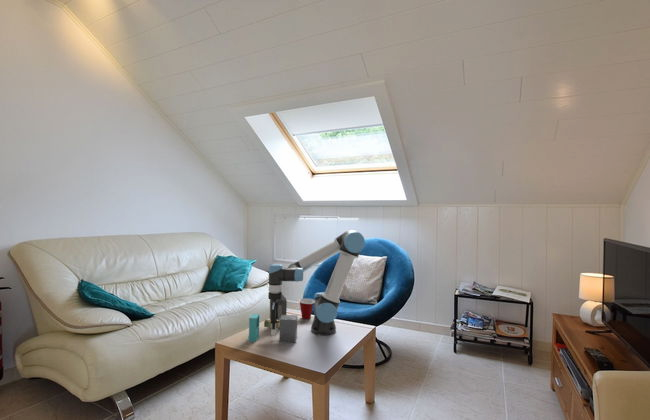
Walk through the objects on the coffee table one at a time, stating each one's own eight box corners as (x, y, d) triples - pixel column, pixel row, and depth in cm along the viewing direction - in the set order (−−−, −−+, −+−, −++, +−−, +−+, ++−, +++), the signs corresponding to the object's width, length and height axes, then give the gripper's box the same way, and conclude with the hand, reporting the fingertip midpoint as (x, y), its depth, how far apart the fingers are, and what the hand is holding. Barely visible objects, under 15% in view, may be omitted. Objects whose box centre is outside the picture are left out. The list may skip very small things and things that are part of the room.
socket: (259, 336, 198) (259, 313, 198) (256, 341, 190) (256, 318, 190) (252, 336, 198) (252, 313, 198) (248, 341, 190) (249, 318, 190)
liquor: (276, 322, 223) (276, 276, 223) (287, 324, 219) (288, 277, 219) (267, 326, 215) (268, 278, 215) (279, 329, 211) (280, 280, 211)
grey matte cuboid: (297, 337, 198) (297, 315, 198) (295, 342, 190) (296, 319, 190) (281, 336, 198) (281, 314, 198) (279, 342, 190) (279, 319, 190)
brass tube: (296, 326, 196) (296, 318, 196) (295, 329, 191) (295, 321, 191) (265, 325, 196) (265, 317, 196) (264, 328, 192) (264, 320, 192)
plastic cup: (308, 321, 226) (308, 303, 226) (295, 318, 232) (295, 300, 232) (317, 317, 235) (317, 299, 235) (304, 314, 241) (305, 297, 241)
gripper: (271, 288, 203) (270, 327, 203) (265, 295, 185) (264, 338, 185) (283, 288, 203) (283, 327, 203) (279, 295, 185) (278, 338, 185)
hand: (274, 332), depth 194 cm, fingers closed on brass tube, 5 cm apart
